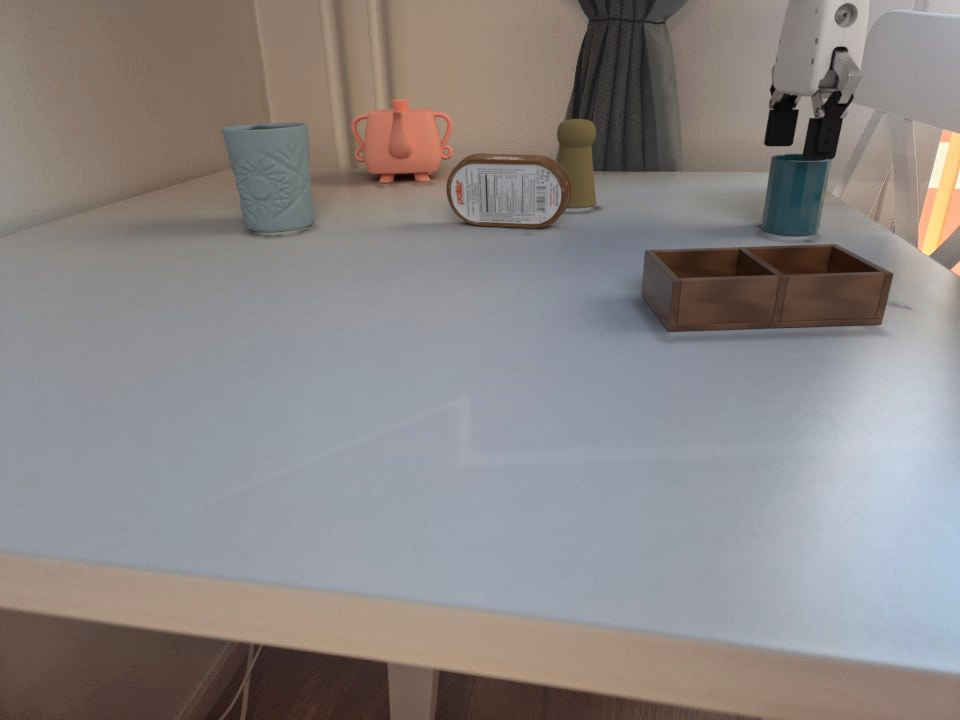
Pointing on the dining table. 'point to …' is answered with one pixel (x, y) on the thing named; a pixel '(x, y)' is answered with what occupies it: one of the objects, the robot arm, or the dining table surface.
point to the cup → (795, 195)
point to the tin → (509, 190)
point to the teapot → (402, 141)
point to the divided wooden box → (764, 287)
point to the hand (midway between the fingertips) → (796, 152)
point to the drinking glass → (272, 174)
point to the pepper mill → (578, 160)
